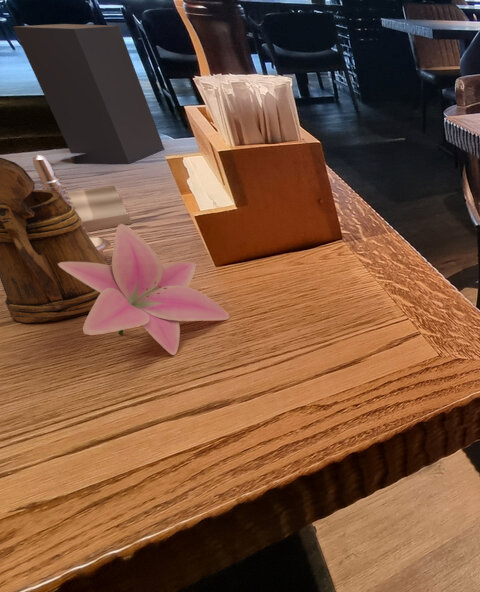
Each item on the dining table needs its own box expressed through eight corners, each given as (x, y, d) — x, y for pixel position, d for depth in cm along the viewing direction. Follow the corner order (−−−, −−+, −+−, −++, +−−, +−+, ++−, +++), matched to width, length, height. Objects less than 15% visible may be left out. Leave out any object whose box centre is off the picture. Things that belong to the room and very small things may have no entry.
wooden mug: (-12, 358, 46) (-147, 155, 37) (21, 293, 56) (-80, 120, 47) (118, 329, 51) (25, 142, 42) (128, 274, 60) (54, 113, 51)
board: (48, 204, 78) (44, 195, 77) (117, 194, 83) (113, 185, 82) (54, 237, 68) (49, 227, 67) (132, 223, 73) (128, 213, 72)
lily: (84, 401, 43) (106, 313, 40) (14, 314, 46) (30, 224, 43) (233, 364, 54) (260, 292, 51) (169, 295, 57) (191, 223, 54)
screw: (100, 251, 65) (126, 258, 64) (53, 266, 61) (79, 275, 60) (50, 146, 59) (77, 152, 57) (-6, 156, 55) (22, 162, 53)
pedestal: (129, 164, 97) (74, 28, 86) (75, 163, 96) (12, 26, 85) (164, 149, 106) (118, 25, 95) (115, 149, 105) (63, 23, 94)
